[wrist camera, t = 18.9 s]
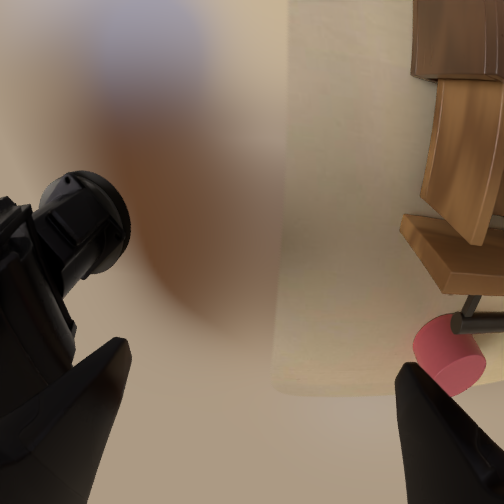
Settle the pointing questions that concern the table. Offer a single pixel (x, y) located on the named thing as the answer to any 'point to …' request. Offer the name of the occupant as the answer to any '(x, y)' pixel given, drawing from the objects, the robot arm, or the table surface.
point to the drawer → (464, 200)
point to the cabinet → (458, 39)
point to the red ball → (448, 356)
